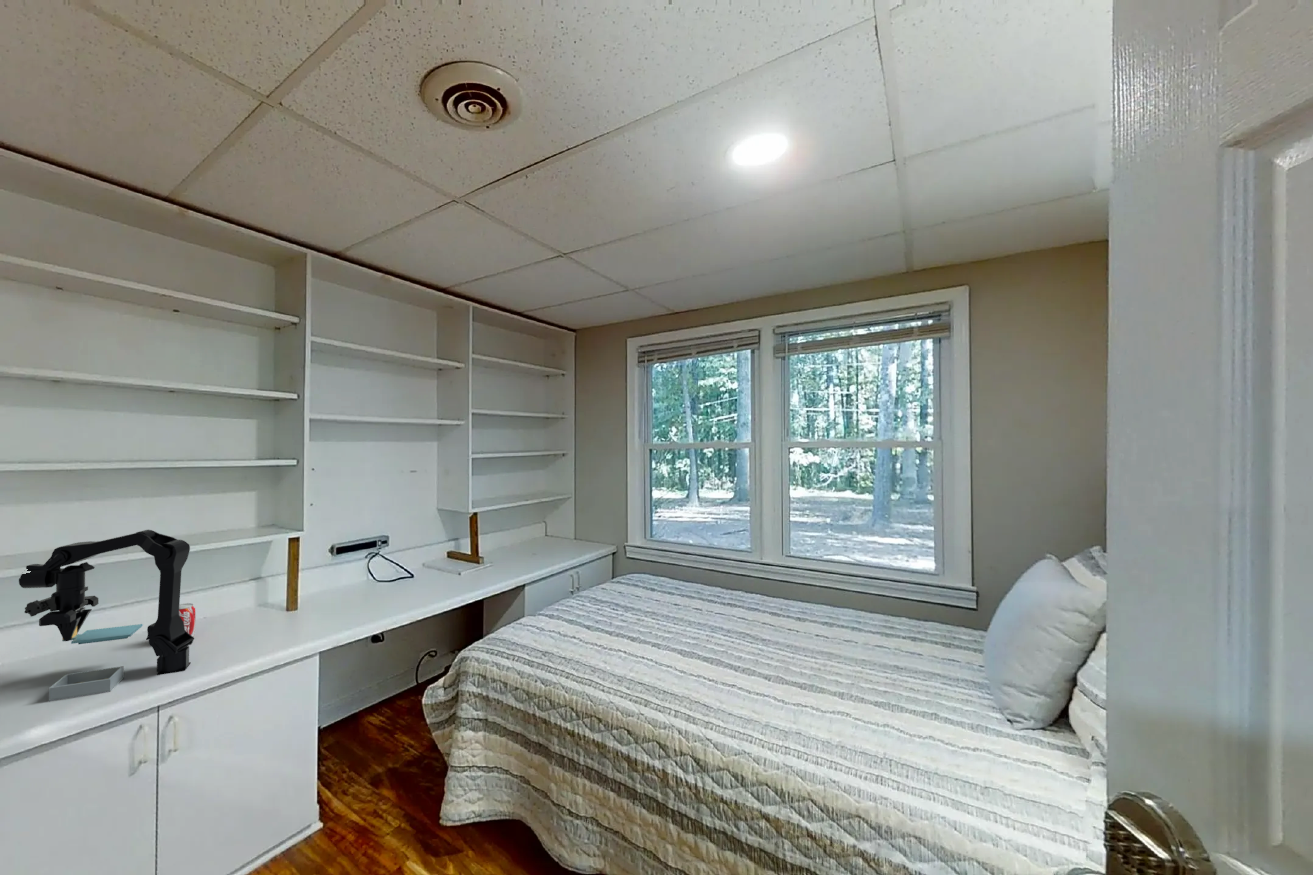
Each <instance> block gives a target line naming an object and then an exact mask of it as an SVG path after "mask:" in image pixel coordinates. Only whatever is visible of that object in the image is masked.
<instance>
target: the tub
mask: <svg viewBox="0 0 1313 875" xmlns="http://www.w3.org/2000/svg"><path fill="white" fill-rule="evenodd" d="M124 671H125V668H124V665H123V666H121V665H120V666H116V667H107V668H101V669H94V670H93V669H92V670H86V671H78V672H74V673H73V672H72V673H66V674H64V675H63V676H62V677H61V678H60V679H58V680H57V681H56V682H55V683H53V684H52V685H51V686H50V687H48V702H54V701H60V700H66V699H72V698H79V697H85V696H91V695H98V694H104V693H105V694H106V693H109V692H110V693H111V692H112V691H113V690H114V689H115V688H116V687H117V686H118V684H119V683H120V682H121V681H122V680H123V679H124V678H125V677H124V673H125V672H124ZM104 678H109V679H104ZM99 679H103V680H99ZM96 680H97V681H96ZM77 682H83V683H77ZM73 683H76V684H73ZM69 684H70V685H69Z"/></svg>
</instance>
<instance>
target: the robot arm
mask: <svg viewBox="0 0 1313 875" xmlns="http://www.w3.org/2000/svg"><path fill="white" fill-rule="evenodd" d="M135 546H138V547H140V548H141V549H142V550H143V551H144V552H145V553H146V554H148V555H150V556H152V557H154V558H153V559H154V564H155V566H156V568H157V569H158V572H159V573H160V574H159V575H160V576H159V590H158V592H159V593H158V605H157V608H158V609H157V619H156V621H155V622H154V623H151V624H150V625H148V626H147V629H146V631H147V637H146V638H145V641H148V645H149V647H152V649H153V651H154V654H155V656H156V657H157V659H156V672H157V673H156V675H157V676H162V675H167V674H175V673H181V672H182V673H183V672H186V670H187V669H188V668H189V667H190V665H191V662H190V646H191V645H192V644H193V642H194V640H195V636H194V637H193V636H191V635H190V634H189V633H187V632H186V631H185V629H184V622H183V620H182V619H181V617H180V616H179V604H181V603H180V601H181V600H180V599H181V583H182V570H183V568H184V565H186V562H187V560H188V557H189V555H190V552H191V551H190V550H191V546H190V544H189V543H188V542H187V541H185V540H183V539H177V538H175V537H173V536H169V535H166V534H162V533H159V532H157V531H156V530H155V531H154V530H152V529H144V530H141V531H137V532H135V533H130V534H126V535H125V534H124V535H121V536H118V537H117V536H116V537H113V538H108V539H104V540H100V541H99V540H97V541H78V542H73V543H70V544H66V545H62V546H58V547H56V548H55V549H54V550H53V551H52V553H51V556H50V557H49V559H48V560H46V562H45V563H44V564H41V563H40V564H38V563H32V564H29V565H26V566H25V570H26V569H28V570H27V571H31V572H30V573H26V574H22V573H21V574H20V577H19V578H18V584H19V586H20V588H22V589H44V588H52V587H54V586H55V592H53V593H52V594H51V596H50V597H49V596H48V597H47V598H44V599H41V600H38V599H36V600H34V601H30V602H28V603H27V604H26V606H25V607H24V614H28V615H29V616H30V618H31V617H35V616H36V615H39V614H40V613H41V614H42V613H44V612H47V611H49V612H48V613H46V614H44V615H43V616H41V617H40V618H39V619H38V626H39V627H44V626H45V627H46V626H56V627H57V628H58V631H59V632H60V635H61V637H63V639H64V641H63V642H69V641H72V640H71V638H72V635H73V633H74V631H75V629H76V627H77V634H78V633H79V631H80V629H81V627H82V626H83V625H84V623H85V621H86V619H87V618H88V616H89V615H90V613H91V612H92V608H89V609H87V608H86V606H91V607H96V606H98V605H99V597H98V596H96V595H87V596H86V592H87V591H88V590H89V586H86V572H88V571H89V572H90V571H92V570H94V569H95V566H93V565H92V564H89V562H87V561H86V560H89V559H91V558H94V557H95V556H98V555H100V554H104V553H108V552H113V551H118V550H121V549H126V548H131V547H135ZM83 561H86V562H83ZM79 562H82V563H80V564H76V563H79ZM74 564H75V565H74ZM65 566H66V567H65ZM63 567H64V568H63Z"/></svg>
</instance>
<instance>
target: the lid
mask: <svg viewBox="0 0 1313 875" xmlns="http://www.w3.org/2000/svg"><path fill="white" fill-rule="evenodd" d="M143 625H144V624H143V623H140V624H132V625H131V624H130V625H122V626H112V627H104V628H96V629H88V630H85V631H84V632H83V633H80V634H78V633H77V627H76V629H75V631H74V633H73V635H72V638H71V640H70V641H71V642H70V644H71V645H72V644H73V645H74V644H78V645H86V644H93V643H100V642H108V641H109V642H110V641H119V640H125V639H128V638H129V637H131V636H133V634H135V633H136V632H137V631H138V630H140V629H141V628H142V627H143ZM61 637H62V636H61ZM62 642H65V641H64V639H63V637H62Z"/></svg>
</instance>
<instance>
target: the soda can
mask: <svg viewBox="0 0 1313 875" xmlns="http://www.w3.org/2000/svg"><path fill="white" fill-rule="evenodd" d="M179 616H180V617H181V619H182V620H183V622H184V629H185V631H186V632H187V633H189V634H190V635H191V636H193V637H194V638H195V635H196V607H194V604H193V603H189V602H187V603H179Z"/></svg>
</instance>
